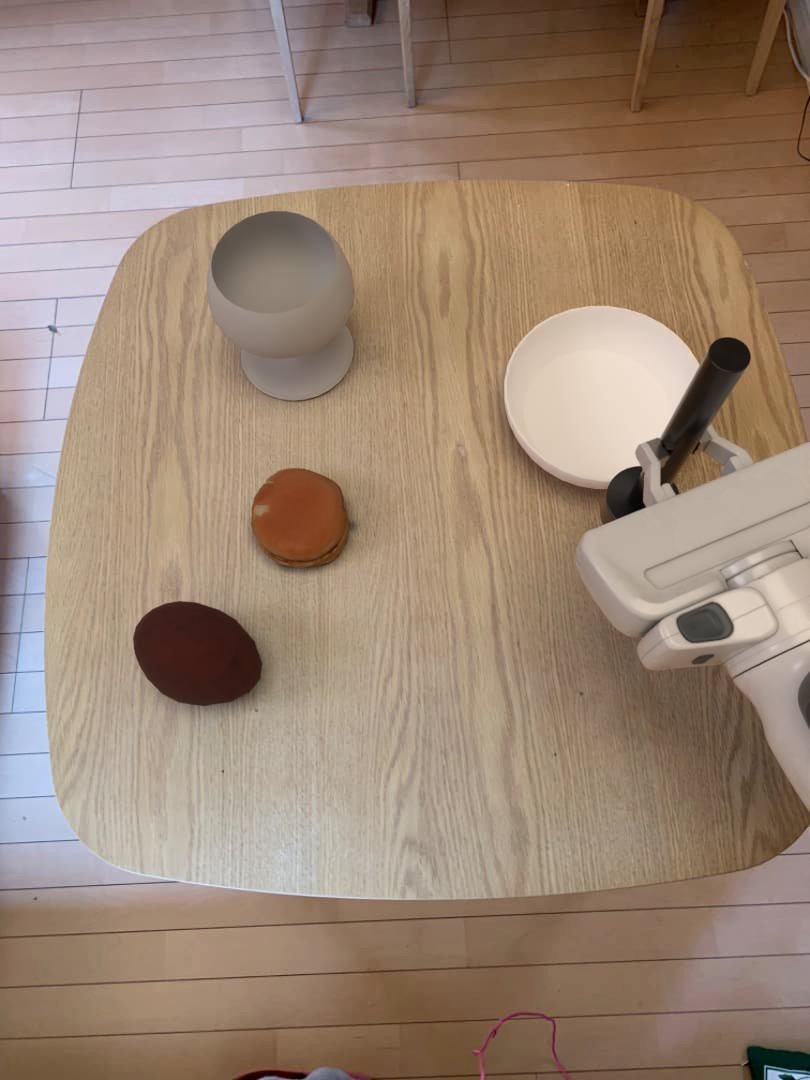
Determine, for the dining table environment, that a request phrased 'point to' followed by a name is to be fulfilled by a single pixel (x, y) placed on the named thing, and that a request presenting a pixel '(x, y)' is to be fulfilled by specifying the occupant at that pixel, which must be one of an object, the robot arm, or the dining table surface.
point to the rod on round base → (682, 426)
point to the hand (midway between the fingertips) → (669, 435)
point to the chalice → (284, 303)
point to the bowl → (594, 390)
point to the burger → (300, 518)
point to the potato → (196, 654)
